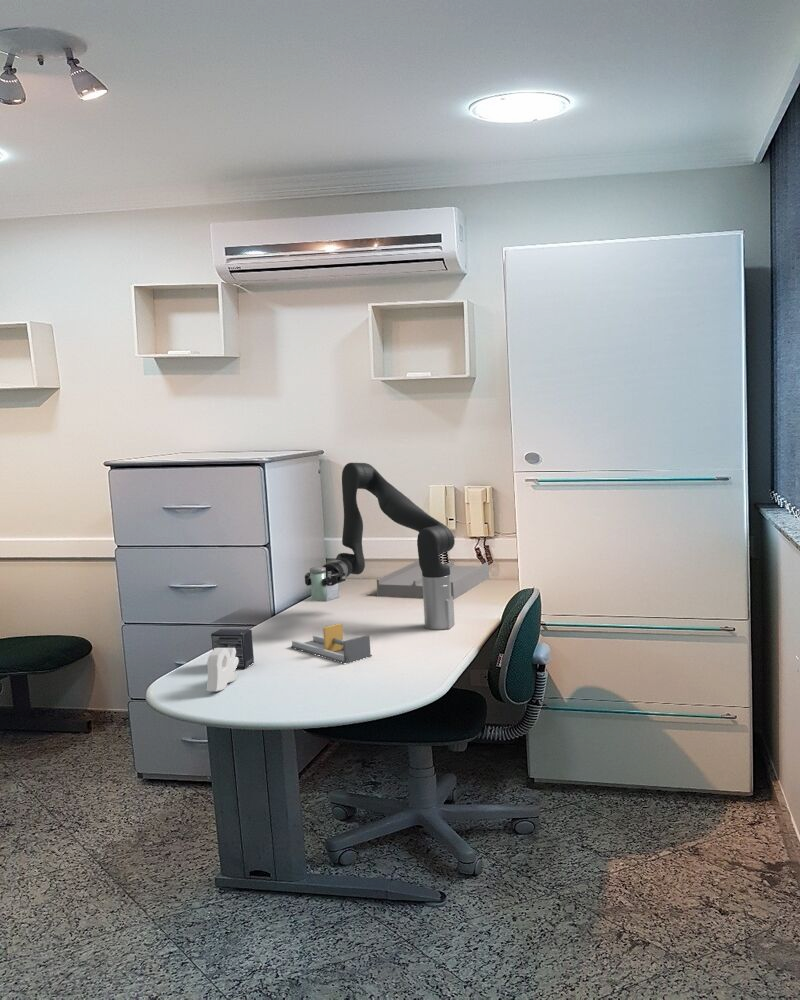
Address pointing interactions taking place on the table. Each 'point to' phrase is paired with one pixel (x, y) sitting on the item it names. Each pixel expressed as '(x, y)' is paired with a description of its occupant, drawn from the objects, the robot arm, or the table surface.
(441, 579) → the robot arm
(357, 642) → the pusher lane
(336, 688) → the table surface
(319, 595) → the green jar
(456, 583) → the desk organizer
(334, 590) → the medicine box
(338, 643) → the pusher plate
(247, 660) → the small box
